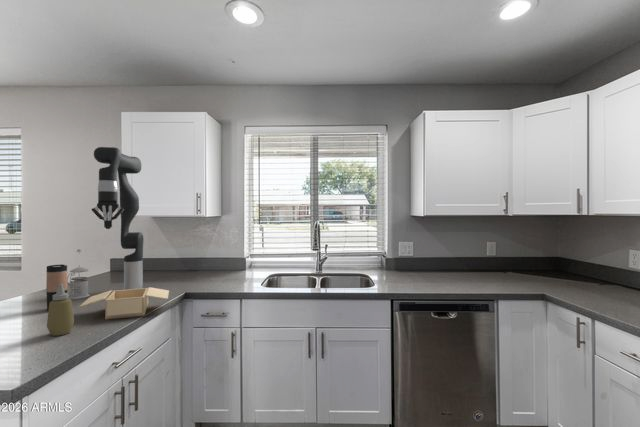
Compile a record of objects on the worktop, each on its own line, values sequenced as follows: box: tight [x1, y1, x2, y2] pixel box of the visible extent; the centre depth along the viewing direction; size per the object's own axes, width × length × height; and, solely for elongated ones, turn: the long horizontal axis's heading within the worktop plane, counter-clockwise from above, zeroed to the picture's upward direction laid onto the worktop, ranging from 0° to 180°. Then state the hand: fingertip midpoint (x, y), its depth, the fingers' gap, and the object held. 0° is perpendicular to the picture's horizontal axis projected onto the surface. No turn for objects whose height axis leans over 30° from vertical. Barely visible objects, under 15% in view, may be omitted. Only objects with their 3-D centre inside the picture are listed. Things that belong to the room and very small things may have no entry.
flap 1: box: [79, 289, 113, 308], centre depth 147 cm, size 17×1×9 cm
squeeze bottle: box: [46, 284, 75, 337], centre depth 124 cm, size 8×8×18 cm
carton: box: [104, 287, 149, 320], centre depth 152 cm, size 23×14×8 cm, turn 22°
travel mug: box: [46, 264, 68, 312], centre depth 156 cm, size 8×8×20 cm
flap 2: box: [146, 286, 170, 300], centre depth 157 cm, size 17×1×9 cm
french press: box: [67, 248, 91, 300], centre depth 180 cm, size 10×12×25 cm
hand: (108, 228), depth 155 cm, fingers closed
